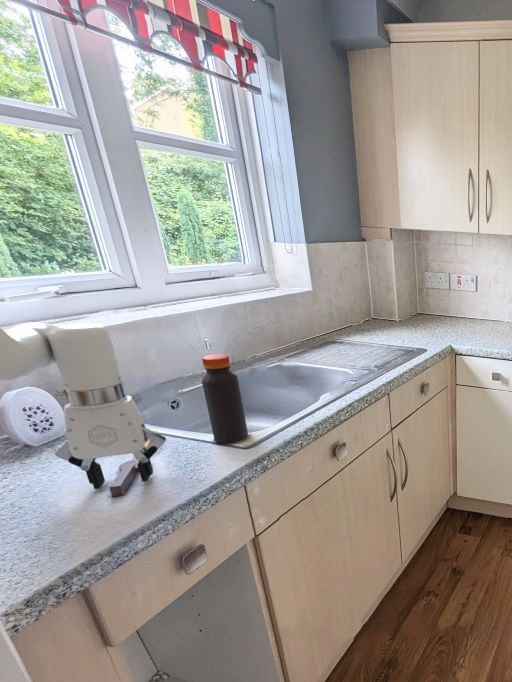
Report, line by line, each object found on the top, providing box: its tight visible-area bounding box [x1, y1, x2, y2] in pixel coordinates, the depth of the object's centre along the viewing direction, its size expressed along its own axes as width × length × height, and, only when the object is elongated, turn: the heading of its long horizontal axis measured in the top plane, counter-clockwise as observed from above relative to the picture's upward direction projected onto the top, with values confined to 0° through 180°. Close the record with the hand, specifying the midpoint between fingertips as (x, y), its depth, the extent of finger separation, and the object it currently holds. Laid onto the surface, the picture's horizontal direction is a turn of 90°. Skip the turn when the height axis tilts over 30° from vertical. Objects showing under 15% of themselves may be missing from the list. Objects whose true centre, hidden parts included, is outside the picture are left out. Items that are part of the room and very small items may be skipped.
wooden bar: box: [145, 430, 158, 449], centre depth 101 cm, size 10×2×2 cm, turn 26°
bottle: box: [201, 353, 249, 445], centre depth 104 cm, size 7×7×20 cm
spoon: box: [108, 458, 140, 497], centre depth 88 cm, size 13×4×2 cm, turn 26°
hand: (123, 481), depth 87 cm, fingers open, 6 cm apart
